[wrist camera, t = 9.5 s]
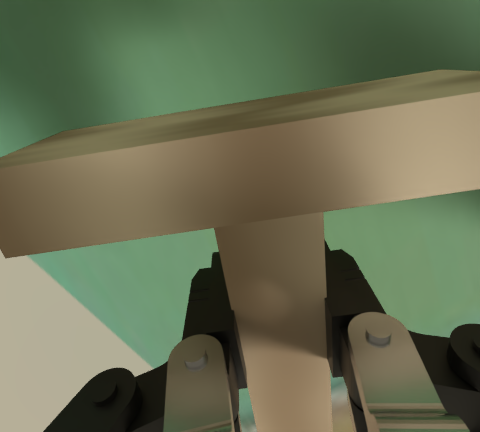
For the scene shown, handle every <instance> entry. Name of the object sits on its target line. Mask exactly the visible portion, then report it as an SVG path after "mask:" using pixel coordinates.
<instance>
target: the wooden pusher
mask: <svg viewBox="0 0 480 432" xmlns="http://www.w3.org/2000/svg"><path fill="white" fill-rule="evenodd" d="M476 189H480V71H464V70H435V71H428V72H422V73H416V74H410V75H404V76H398V77H392V78H386V79H380V80H373V81H367V82H361V83H355V84H349V85H343V86H337V87H331V88H324V89H318V90H312V91H306V92H300V93H294V94H288V95H282V96H276V97H269V98H263V99H257V100H251V101H245V102H239V103H233V104H227V105H221V106H214V107H208V108H202V109H196V110H190V111H184V112H178V113H172V114H166V115H159V116H153V117H147V118H141V119H135V120H129V121H123V122H117V123H111V124H104V125H98V126H92V127H86V128H80V129H74V130H68V131H62V132H60V133H58V134H55V135H53V136H51V137H48V138H46V139H43V140H41V141H39V142H36V143H34V144H31V145H29V146H27V147H24V148H22V149H19V150H17V151H15V152H12V153H10V154H8V155H5V156H3V157H0V249H1V251H2V253H3V255H4V256H5V258H10V257H17V256H25V255H31V254H38V253H45V252H52V251H59V250H66V249H72V248H79V247H86V246H93V245H100V244H107V243H114V242H120V241H127V240H134V239H141V238H148V237H155V236H161V235H168V234H175V233H182V232H189V231H196V230H202V229H209V228H214V230H215V235H216V240H217V244H218V249H219V254H220V258H221V263H222V268H223V272H224V277H225V282H226V286H227V291H228V296H229V301H230V305H231V310H234V312H235V317H236V322H237V327H238V332H239V336H240V341H241V346H242V351H243V356H244V360H245V365H246V372H247V385H248V390H249V394H250V399H251V404H252V408H253V413H254V418H255V422H256V427H257V432H333V431H332V408H331V384H330V366H329V363H328V360H327V343H326V322H325V300H324V298H326V297H327V290H326V267H325V243H324V220H323V212H326V211H333V210H339V209H346V208H353V207H360V206H367V205H374V204H380V203H387V202H394V201H401V200H408V199H415V198H421V197H428V196H435V195H442V194H449V193H456V192H463V191H469V190H476Z"/></svg>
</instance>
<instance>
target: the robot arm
mask: <svg viewBox="0 0 480 432" xmlns="http://www.w3.org/2000/svg"><path fill="white" fill-rule="evenodd" d="M324 243H325V267H326V290H327V297H326V298H324V300H325V322H326V343H327V360H328V363H329V366H330V370H331V373H332V376H333V378H334V377H343V378H344V380H345V383H346V386H347V400H348V406H349V411H350V416H351V420H352V425H353V430H354V432H480V324H464V325H461V326H458V327H457V328H455V329H454V330H453V331H452V333H451V335H450V338H447V337H439V336H432V335H424V334H419V333H415V332H411V331H409V330H407V329H406V327H405V326H404V325H403V324H402V323H401V322H400V321H398V320H397V319H395V318H393V317H391V316H389V315H387V314H386V313H385V311H384V309H383V308H382V306H381V304H380V302H379V301H378V299H377V297H376V296H375V294H374V292H373V291H372V289H371V287H370V285H369V284H368V282H367V280H366V279H365V278H364V275H363V273H362V272H361V270H359V267H358V265H357V263H356V262H355V260H354V258H353V257H352V256H350V255H349V254H348V253H346V252H345V251H343V250H342V249H340V250H333V251H330V249H329V247H328V245H327V243H326V241H325V239H324ZM188 301H189V303H188V306H187V313H186V319H185V325H184V331H183V337H182V341H181V342H180V343H178V344H177V345H176V346H175V348H174V349H173V350H172V352H171V354H170V356H169V359H168V361H167V362H166V363H164V364H163V365H161V366H159V367H157V368H155V369H153V370H151V371H148V372H146V373H144V374H141V375H139V376H137V377H134V375H133V374H132V373H131V372H130V371H129V370H127V369H124V368H112V369H109V370H106V371H103V372H101V373H99V374H98V375H96V376H95V377H93V378H92V379H91V380H90V381H89V382H88V383H87V384H86V385H85V386H84V387H83V388H82V389H81V390H80V391H79V392H78V393H77V395H76V396H75V397H74V398H73V399H72V400H71V401H70V402H69V404H68V405H67V406H66V407H65V408H64V409H63V410H62V411H61V412H60V414H59V415H58V416H57V417H56V418H55V419H54V420H53V421H52V423H51V424H50V425H49V426H48V427H47V428H46V429H45V430H44V431H43V432H242V429H241V422H240V415H239V389H243V388H247V372H246V365H245V360H244V356H243V351H242V346H241V341H240V336H239V332H238V327H237V322H236V317H235V312H234V310H231V305H230V301H229V296H228V291H227V286H226V282H225V277H224V272H223V268H222V263H221V258H220V254H219V252H214V253H213V254H212V265H211V268H204V269H199V270H198V272H197V273H196V275H195V276H194V277H193V279H192V282H191V288H190V294H189V300H188Z"/></svg>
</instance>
